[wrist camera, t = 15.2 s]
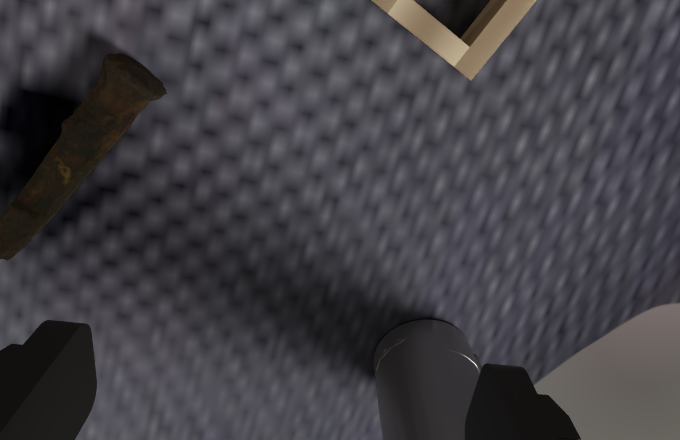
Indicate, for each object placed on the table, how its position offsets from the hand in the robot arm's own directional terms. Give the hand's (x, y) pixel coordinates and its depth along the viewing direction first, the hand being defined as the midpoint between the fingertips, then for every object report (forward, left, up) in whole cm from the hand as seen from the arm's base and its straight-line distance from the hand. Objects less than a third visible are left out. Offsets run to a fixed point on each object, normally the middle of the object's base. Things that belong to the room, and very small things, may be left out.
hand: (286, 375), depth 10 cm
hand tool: (+11, +15, -29) cm, 34 cm away
